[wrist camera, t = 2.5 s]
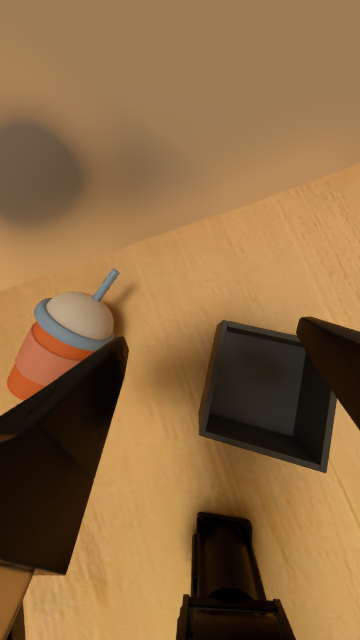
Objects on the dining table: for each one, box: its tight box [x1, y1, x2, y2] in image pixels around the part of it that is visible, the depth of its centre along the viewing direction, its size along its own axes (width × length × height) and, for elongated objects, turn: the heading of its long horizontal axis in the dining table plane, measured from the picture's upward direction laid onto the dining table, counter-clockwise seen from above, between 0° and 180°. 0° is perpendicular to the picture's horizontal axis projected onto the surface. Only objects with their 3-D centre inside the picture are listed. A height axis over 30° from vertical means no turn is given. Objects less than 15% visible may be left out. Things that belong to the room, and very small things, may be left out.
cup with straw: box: [7, 269, 119, 400], centre depth 22 cm, size 9×9×18 cm
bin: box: [199, 320, 337, 473], centre depth 20 cm, size 12×12×6 cm
